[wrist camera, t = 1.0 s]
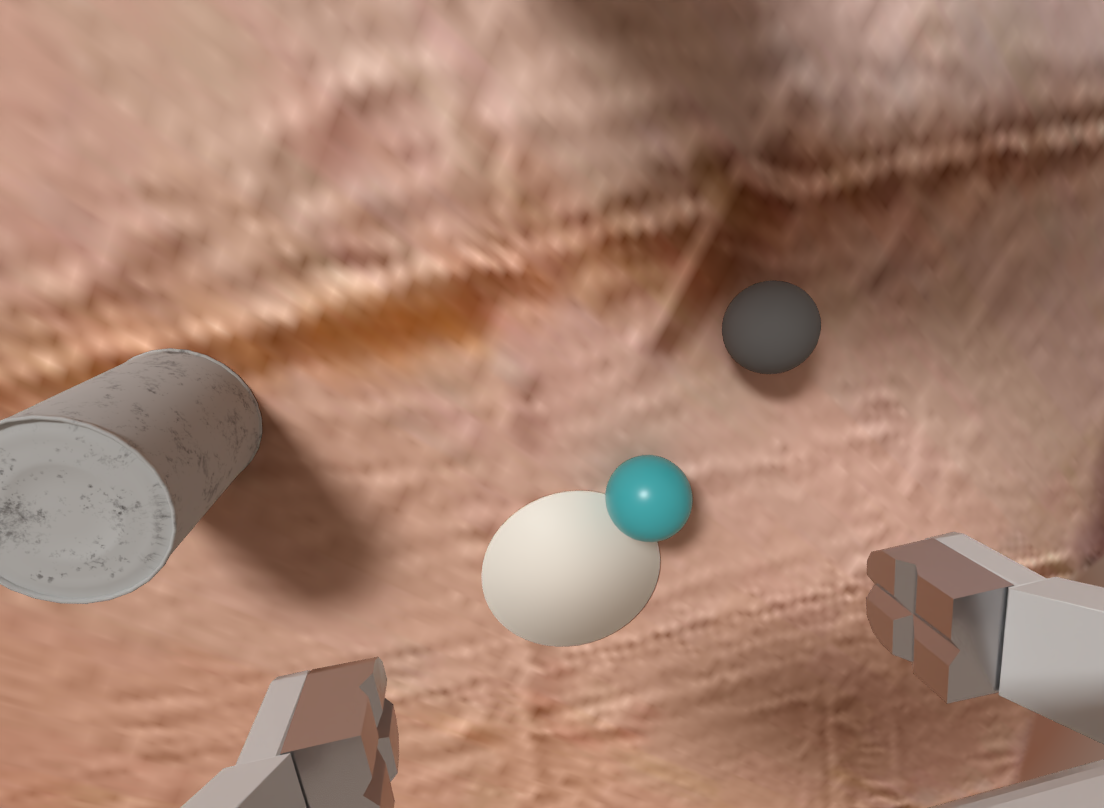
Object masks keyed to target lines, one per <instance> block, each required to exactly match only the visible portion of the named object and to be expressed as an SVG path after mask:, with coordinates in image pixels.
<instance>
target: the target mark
mask: <svg viewBox="0 0 1104 808" xmlns="http://www.w3.org/2000/svg"><path fill="white" fill-rule="evenodd" d="M659 570H660V553H659V547H658V543H657V542H642V541H638V540H635V539H632V538H630V537H629V536H627V535H625V534H624V533H622V532H621V531H620V530H619V529H618V528H617V527H616V526H615V524H614V523H613V521H612V520H611V518H610V516H609V514H608V511H607V507H606V500H605V494H604V493H600V492H594V491H583V490H575V491H564V492H559V493H554V494H551V495H548V496H545V497H542V498H539V499H537V500H535V501H533V502H531V503H529V504H527V505H526V506H524V507H522V508H521V509H519V510H518V511H517V512H515V513H514V514H513V515H511V516H510V517H509V518H508V519H507V520H506V521H505V522H504V523H503V524H502V525H501V527H500V528H499V529H498V531H497V532H496V533H495V534H494V536H493V538H492V540H491V542H490V543H489V545H488V548H487V550H486V553H485V556H484V560H483V565H482V588H483V592H484V596H485V599H486V601H487V604H488V606H489V608H490V609H491V611H492V613H493V614H494V616H495V617H496V618H497V619H498V621H499V622H500V623H501V624H502V625H504V626H505V627H506V628H507V629H508V630H510V631H511V632H513V633H514V634H516V635H517V636H519V637H521V638H523V639H525V640H528V641H531V642H534V643H538V644H542V645H547V646H576V645H582V644H586V643H590V642H593V641H596V640H599V639H602V638H604V637H606V636H608V635H611V634H612V633H614V632H616V631H617V630H619V629H621V628H622V627H623V626H625V625H626V624H627V623H629V622H630V621H631V620H632V619H633V618H634V617H635V616H636V615H637V614H638V613H639V612H640V611H641V610H642V608H643V607H644V606H645V605H646V603H647V601H648V600H649V598H650V597H651V595H652V593H653V591H654V589H655V586H656V583H657V580H658V575H659Z"/></svg>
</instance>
